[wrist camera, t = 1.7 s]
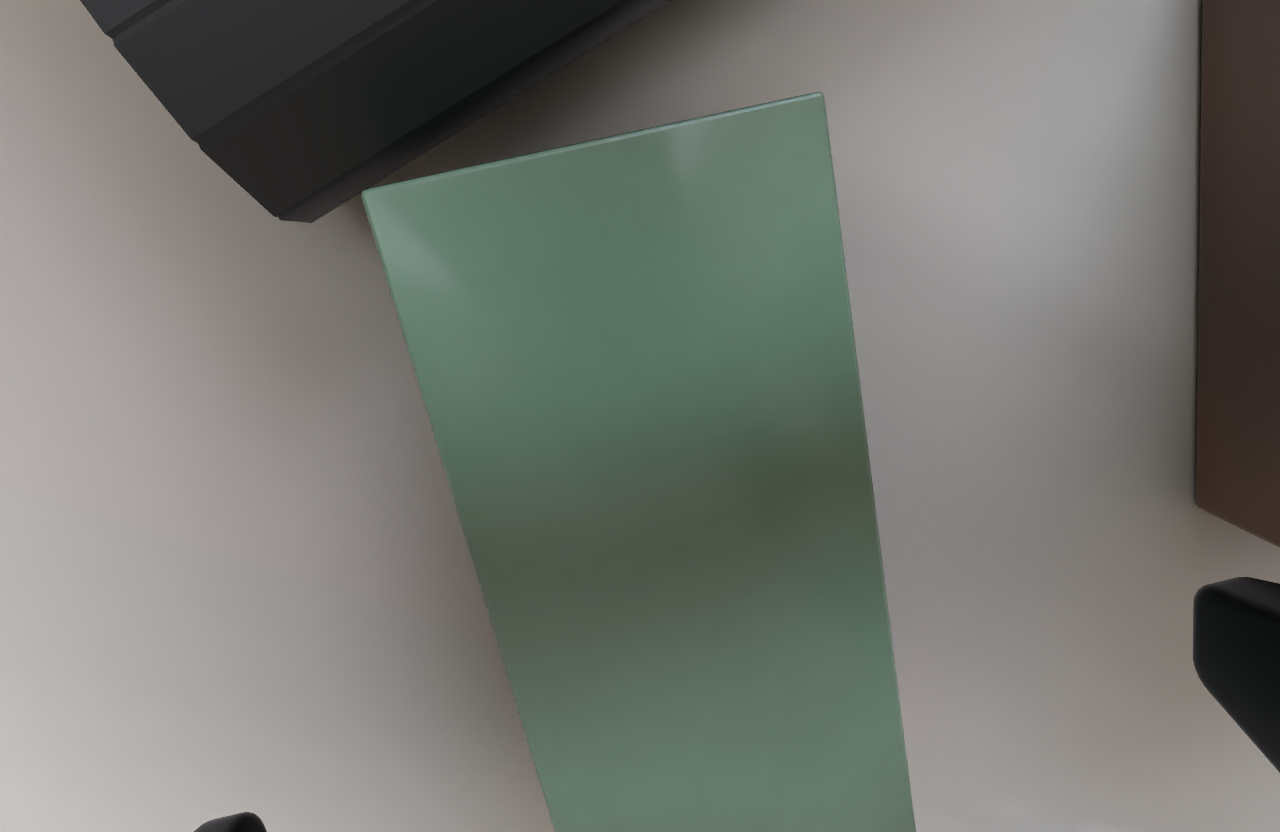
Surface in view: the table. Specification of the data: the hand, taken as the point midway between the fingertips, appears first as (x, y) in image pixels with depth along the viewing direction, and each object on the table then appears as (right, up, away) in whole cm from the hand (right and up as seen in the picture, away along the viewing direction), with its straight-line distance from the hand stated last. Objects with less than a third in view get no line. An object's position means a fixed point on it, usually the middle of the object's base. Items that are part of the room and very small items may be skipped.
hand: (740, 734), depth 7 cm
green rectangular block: (-1, +2, +6) cm, 7 cm away
